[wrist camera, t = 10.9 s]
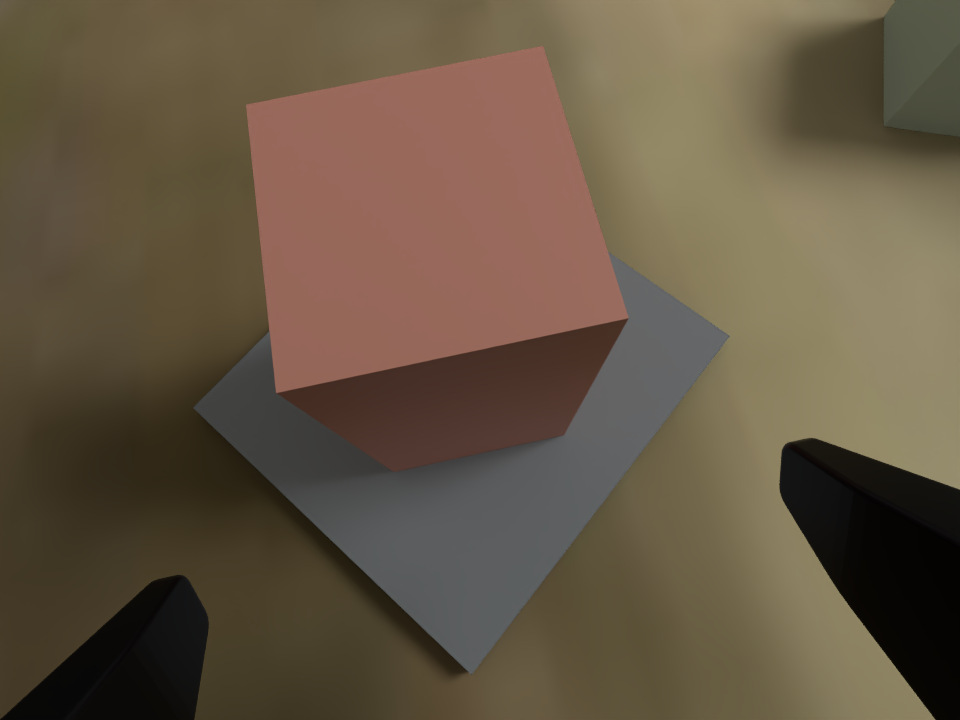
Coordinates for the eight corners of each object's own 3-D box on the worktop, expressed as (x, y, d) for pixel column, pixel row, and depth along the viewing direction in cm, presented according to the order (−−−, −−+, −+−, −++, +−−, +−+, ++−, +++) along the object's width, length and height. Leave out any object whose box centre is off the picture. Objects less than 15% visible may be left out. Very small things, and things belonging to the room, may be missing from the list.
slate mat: (472, 670, 15) (471, 675, 15) (200, 411, 18) (193, 407, 17) (723, 341, 18) (729, 336, 17) (455, 154, 20) (454, 145, 20)
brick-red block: (564, 434, 17) (629, 317, 8) (393, 472, 16) (275, 392, 8) (524, 281, 18) (543, 46, 10) (368, 314, 18) (246, 104, 9)
